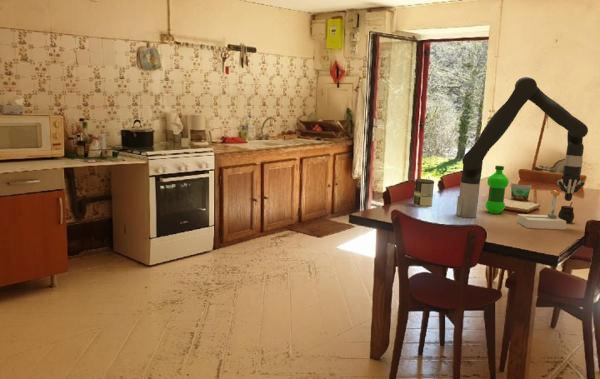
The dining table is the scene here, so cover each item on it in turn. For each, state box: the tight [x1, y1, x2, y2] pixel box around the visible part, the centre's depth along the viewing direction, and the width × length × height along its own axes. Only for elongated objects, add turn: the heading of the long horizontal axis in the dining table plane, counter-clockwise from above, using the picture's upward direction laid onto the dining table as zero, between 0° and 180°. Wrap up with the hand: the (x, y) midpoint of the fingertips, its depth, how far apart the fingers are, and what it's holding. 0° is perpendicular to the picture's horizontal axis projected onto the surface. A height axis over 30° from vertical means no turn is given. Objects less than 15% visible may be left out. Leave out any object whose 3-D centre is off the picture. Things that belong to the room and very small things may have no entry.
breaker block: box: [516, 213, 567, 230], centre depth 250 cm, size 18×12×4 cm, turn 91°
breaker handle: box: [547, 189, 561, 218], centre depth 249 cm, size 3×4×13 cm
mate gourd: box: [557, 201, 575, 224], centre depth 261 cm, size 7×8×10 cm
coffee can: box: [412, 178, 435, 208], centre depth 286 cm, size 10×10×14 cm
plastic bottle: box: [485, 165, 510, 214], centre depth 275 cm, size 10×10×25 cm
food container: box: [510, 182, 533, 202], centre depth 315 cm, size 12×6×10 cm, turn 76°
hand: (567, 200), depth 249 cm, fingers closed
